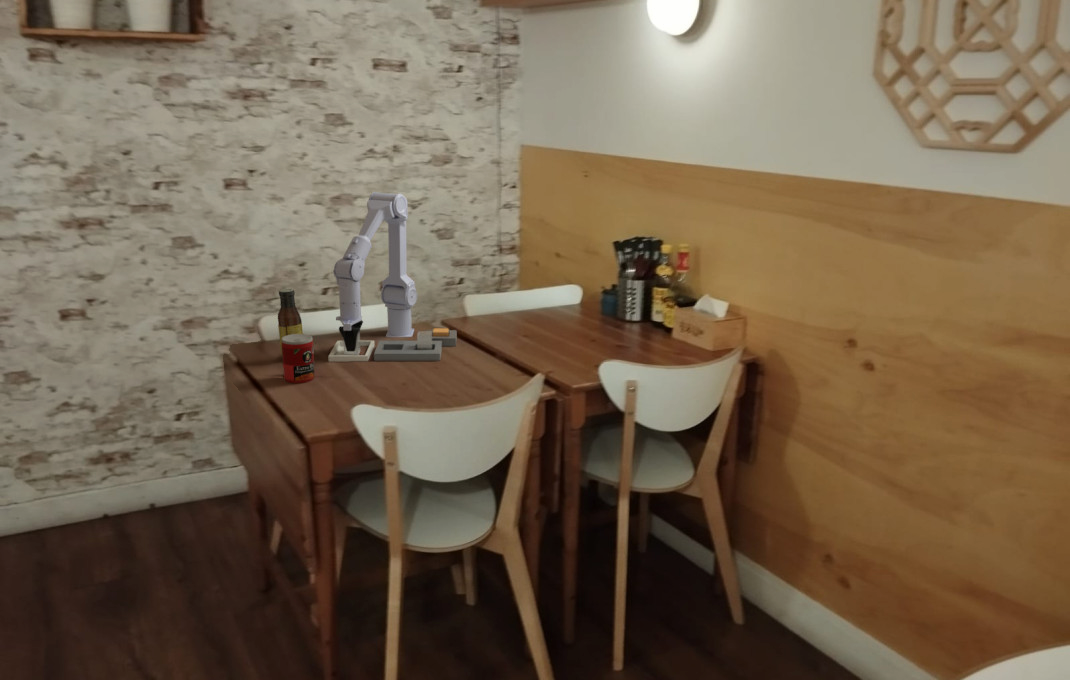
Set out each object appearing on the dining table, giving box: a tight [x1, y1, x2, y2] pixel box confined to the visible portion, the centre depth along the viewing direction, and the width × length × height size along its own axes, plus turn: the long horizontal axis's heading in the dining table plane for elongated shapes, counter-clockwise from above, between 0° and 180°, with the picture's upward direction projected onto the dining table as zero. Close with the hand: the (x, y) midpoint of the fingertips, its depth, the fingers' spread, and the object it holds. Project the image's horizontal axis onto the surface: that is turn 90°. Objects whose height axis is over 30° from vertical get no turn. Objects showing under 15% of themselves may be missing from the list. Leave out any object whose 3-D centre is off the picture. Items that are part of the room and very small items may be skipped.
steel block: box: [342, 330, 361, 355], centre depth 235 cm, size 4×4×6 cm
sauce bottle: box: [277, 288, 304, 360], centre depth 227 cm, size 6×6×20 cm
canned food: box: [281, 333, 316, 384], centre depth 213 cm, size 8×8×11 cm
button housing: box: [426, 329, 458, 347], centre depth 248 cm, size 9×9×3 cm
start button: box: [432, 327, 450, 337], centre depth 247 cm, size 4×4×3 cm
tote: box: [327, 340, 375, 363], centre depth 235 cm, size 16×11×2 cm
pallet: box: [373, 340, 443, 362], centre depth 235 cm, size 13×18×3 cm
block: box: [416, 330, 433, 350], centre depth 235 cm, size 4×4×6 cm
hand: (352, 348), depth 235 cm, fingers closed on steel block, 4 cm apart
